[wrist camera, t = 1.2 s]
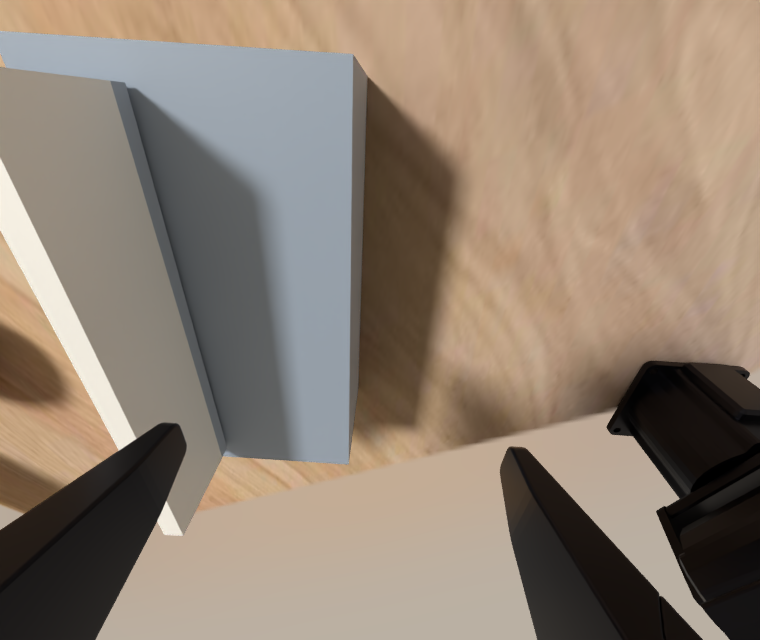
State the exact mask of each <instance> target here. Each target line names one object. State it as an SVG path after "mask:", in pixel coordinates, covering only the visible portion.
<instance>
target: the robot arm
mask: <svg viewBox="0 0 760 640" xmlns="http://www.w3.org/2000/svg"><path fill="white" fill-rule="evenodd" d="M749 375H750V373H749V372H748V371H747V370H746V369H744V368H743V367H738V366H728V365H717V364H702V363H677V362H662V361H649V362H647V363H645V364H644V365H643V366H642V367H641V369H640V371H639V373H638V374H637V376H636V378H635V379H634V381H633V383H632V384H631V386H630V388H629V389H628V391H627V393H626V394H625V396H624V398H623V399H622V401H621V403H620V405H619V406H618V408H617V410H616V411H615V413H614V415H613V416H612V418H611V420H610V421H609V423H608V425H607V429H608V431H609V432H610V433H611V434H613V435H624V436H633V437H634V438H635V439H636V441H637V442H638V443H639V445H640V446H641V447H642V449H643V450H644V451H645V453H646V454H647V455H648V457H649V458H650V460H651V461H652V462H653V463H654V465H655V466H656V467H657V469H658V470H659V471H660V473H661V474H662V475H663V477H664V478H665V480H666V481H667V482H668V484H669V485H670V486H671V488H672V489H673V490H674V491H675V493H676V494H677V496H678V497H679V498H680V499H679V500H677V501H676V502H674V503H673V504H671V505H669V506H667V507H665V506H664V507H662V508H660V509H659V510H657V511H656V512H657V515H658V517H659V520H660V522H661V524H662V527H663V529H664V531H665V534H666V536H667V538H668V541H669V543H670V545H671V548H672V550H673V552H674V555H675V557H676V559H677V562H678V564H679V566H680V569H681V571H682V573H683V576H684V578H685V580H686V582H687V584H688V587H689V588H690V591H691V593H692V595H693V598H694V599H695V600H696V602H697V603H698V604H699V605H700V606H701V607H702V608H703V609H704V611H705V612H706V613H707V614H708V616H709V617H710V618H711V619H712V620H713V622H714V623H715V624H716V625H717V626H718V627H719V628H720V629H721V630H722V631H723V632H724V633H725V634H726V635H727V637H728V638H729V639H730V640H760V389H759V388H758V387H756V386H755V385H754V384H752V383H751V382H750V381H748V380H747V378H748V377H749ZM186 450H187V443H186V440H185V438H184V435H183V432H182V429H181V427H180V425H179V424H177V423H167V422H163V423H160V424H158V425H156V426H155V427H153V428H152V429H150V430H149V431H147V432H146V433H144V434H143V435H141V436H140V437H138V438H137V439H135V440H134V441H132V442H131V443H129V444H128V445H126V446H125V447H123V448H122V449H120V450H119V451H117V452H116V453H114V454H113V455H111V456H110V457H109V458H107V459H106V460H104V461H103V462H101V463H100V464H98V465H97V466H95V467H94V468H92V469H91V470H89V471H88V472H86V473H85V474H83V475H82V476H80V477H79V478H77V479H76V480H74V481H73V482H71V483H70V484H68V485H67V486H65V487H64V488H62V489H61V490H59V491H58V492H56V493H55V494H53V495H52V496H50V497H49V498H47V499H46V500H44V501H43V502H41V503H40V504H38V505H37V506H35V507H34V508H32V509H31V510H29V511H28V512H26V513H25V514H24V515H22V516H21V517H19V518H18V519H16V520H15V521H13V522H12V523H10V524H9V525H7V526H6V527H4V528H3V529H1V530H0V640H95V639H96V637H97V635H98V633H99V631H100V630H101V628H102V626H103V624H104V622H105V620H106V618H107V616H108V614H109V612H110V610H111V609H112V607H113V605H114V603H115V601H116V599H117V597H118V595H119V593H120V591H121V589H122V588H123V586H124V584H125V582H126V580H127V578H128V576H129V574H130V572H131V570H132V568H133V566H134V565H135V563H136V561H137V559H138V557H139V555H140V553H141V551H142V549H143V547H144V545H145V543H146V542H147V540H148V538H149V536H150V534H151V532H152V530H153V528H154V526H155V524H156V522H157V520H158V518H159V516H160V514H161V512H162V510H163V508H164V505H165V503H166V501H167V498H168V496H169V493H170V491H171V488H172V486H173V483H174V481H175V478H176V476H177V473H178V471H179V468H180V466H181V464H182V461H183V459H184V456H185V453H186ZM500 476H501V483H502V489H503V495H504V501H505V507H506V514H507V520H508V526H509V532H510V537H511V542H512V545H513V550H514V554H515V557H516V561H517V565H518V568H519V572H520V576H521V580H522V583H523V587H524V591H525V595H526V599H527V603H528V606H529V610H530V614H531V618H532V621H533V625H534V629H535V633H536V636H537V640H703V639H702V638H701V637H700V636H699V635H698V634H697V633H696V632H695V631H694V630H693V629H692V628H691V627H690V626H689V625H688V623H687V622H686V621H685V620H684V619H683V618H682V617H681V616H680V615H679V614H678V613H677V612H676V611H675V609H674V608H673V607H672V606H671V605H670V604H669V603H668V602H667V601H666V600H665V599H664V598H663V597H662V596H659V593H658V591H657V590H656V589H655V588H654V587H653V586H652V585H651V584H650V582H649V581H648V580H647V579H646V578H645V577H644V576H643V575H642V574H641V573H640V572H639V571H638V569H637V568H636V567H635V566H634V565H633V564H632V563H631V562H630V561H629V560H628V558H626V557H625V555H624V554H623V553H622V552H621V551H620V550H619V549H618V548H617V547H616V546H615V544H614V543H613V542H612V541H611V540H610V539H609V538H608V537H607V536H606V535H605V534H604V532H603V531H602V530H601V529H600V528H599V527H598V526H597V525H596V524H595V523H594V521H592V519H591V518H590V517H589V516H588V515H587V514H586V513H585V512H584V511H583V510H582V508H580V506H579V505H578V504H577V503H576V502H575V501H574V500H573V499H572V498H571V496H570V495H569V494H568V493H567V492H566V491H565V490H564V489H563V488H562V487H561V486H560V484H559V483H558V482H557V481H556V480H555V479H554V478H553V477H552V476H551V475H550V474H549V473H548V471H547V470H546V469H545V468H544V467H543V466H542V465H541V464H540V463H539V462H538V461H537V459H536V458H535V457H534V456H533V455H532V454H531V453H530V452H529V451H528V450H527V449H526V448H523V447H509V448H508V449H507V451H506V454H505V456H504V459H503V461H502V464H501V467H500Z"/></svg>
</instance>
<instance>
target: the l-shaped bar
mask: <svg viewBox="0 0 760 640" xmlns="http://www.w3.org/2000/svg"><path fill="white" fill-rule="evenodd" d="M0 231H1V232H2V234H3V236H4V238H5V240H6V242H7V244H8V245H9V247H10V249H11V251H12V253H13V255H14V257H15V258H16V260H17V262H18V264H19V266H20V268H21V270H22V271H23V273H24V275H25V277H26V279H27V281H28V283H29V284H30V286H31V288H32V290H33V292H34V294H35V296H36V297H37V299H38V301H39V303H40V305H41V307H42V309H43V310H44V312H45V314H46V316H47V318H48V320H49V322H50V323H51V325H52V327H53V329H54V331H55V333H56V335H57V336H58V338H59V340H60V342H61V344H62V346H63V348H64V349H65V351H66V353H67V355H68V357H69V359H70V361H71V362H72V364H73V366H74V368H75V370H76V372H77V373H78V375H79V377H80V379H81V381H82V383H83V385H84V386H85V388H86V390H87V392H88V394H89V396H90V398H91V399H92V401H93V403H94V405H95V407H96V409H97V411H98V412H99V414H100V416H101V418H102V420H103V422H104V424H105V425H106V427H107V429H108V431H109V433H110V435H111V437H112V438H113V440H114V442H115V444H116V446H117V448H118V450H120V449H122V448H123V447H125V446H126V445H128V444H129V443H131V442H132V441H134V440H135V439H137V438H138V437H140V436H141V435H143V434H144V433H146V432H147V431H149V430H150V429H152V428H153V427H155V426H156V425H158V424H160V423H163V422H167V423H177V424H179V425H180V427H181V429H182V432H183V435H184V438H185V440H186V443H187V450H186V453H185V456H184V459H183V461H182V464H181V466H180V468H179V471H178V473H177V476H176V478H175V481H174V483H173V486H172V488H171V491H170V493H169V496H168V498H167V501H166V503H165V505H164V508H163V510H162V512H161V514H160V516H159V518H158V520H157V522H158V524H159V525H160V527H161V529H162V531H163V533H164V535H178V536H183V535H184V533H185V531H186V529H187V527H188V525H189V523H190V521H191V519H192V517H193V515H194V513H195V511H196V509H197V507H198V505H199V503H200V501H201V499H202V497H203V495H204V493H205V491H206V489H207V487H208V485H209V483H210V481H211V479H212V477H213V475H214V473H215V471H216V469H217V467H218V465H219V463H220V461H221V459H222V457H223V455H224V453H225V451H226V449H227V446H226V442H225V439H224V435H223V432H222V428H221V424H220V421H219V417H218V414H217V410H216V407H215V403H214V399H213V396H212V392H211V389H210V385H209V381H208V378H207V374H206V371H205V367H204V363H203V360H202V356H201V353H200V349H199V346H198V342H197V338H196V335H195V331H194V328H193V324H192V320H191V317H190V313H189V310H188V306H187V302H186V299H185V295H184V292H183V288H182V285H181V281H180V277H179V274H178V270H177V267H176V263H175V259H174V256H173V252H172V249H171V245H170V241H169V238H168V234H167V231H166V227H165V224H164V220H163V216H162V213H161V209H160V206H159V202H158V198H157V195H156V191H155V188H154V184H153V180H152V177H151V173H150V170H149V166H148V163H147V159H146V155H145V152H144V148H143V145H142V141H141V137H140V134H139V130H138V127H137V123H136V119H135V116H134V112H133V109H132V105H131V102H130V98H129V94H128V91H127V87H126V84H125V82H117V81H109V80H101V79H92V78H84V77H76V76H68V75H60V74H52V73H44V72H36V71H28V70H20V69H12V68H4V67H0Z"/></svg>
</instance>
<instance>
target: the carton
mask: <svg viewBox="0 0 760 640" xmlns="http://www.w3.org/2000/svg"><path fill="white" fill-rule="evenodd" d="M0 54H1V56H2V59H3V61H4V63H5V66H6V68H12V69H20V70H28V71H36V72H44V73H52V74H60V75H68V76H76V77H84V78H92V79H101V80H109V81H117V82H125V84H126V87H127V91H128V94H129V98H130V102H131V105H132V109H133V112H134V116H135V119H136V123H137V127H138V130H139V134H140V137H141V141H142V145H143V148H144V152H145V155H146V159H147V163H148V166H149V170H150V173H151V177H152V180H153V184H154V188H155V191H156V195H157V198H158V202H159V206H160V209H161V213H162V216H163V220H164V224H165V227H166V231H167V234H168V238H169V241H170V245H171V249H172V252H173V256H174V259H175V263H176V267H177V270H178V274H179V277H180V281H181V285H182V288H183V292H184V295H185V299H186V302H187V306H188V310H189V313H190V317H191V320H192V324H193V328H194V331H195V335H196V338H197V342H198V346H199V349H200V353H201V356H202V360H203V363H204V367H205V371H206V374H207V378H208V381H209V385H210V389H211V392H212V396H213V399H214V403H215V407H216V410H217V414H218V417H219V421H220V424H221V428H222V432H223V435H224V439H225V442H226V446H227V449H226V451H225V453H224V455H223V456H228V457H243V458H258V459H273V460H289V461H304V462H319V463H334V464H349V457H350V450H351V442H352V434H353V426H354V418H355V411H356V403H357V395H358V382H359V348H360V314H361V280H362V246H363V212H364V178H365V144H366V110H367V75H366V73H365V72H364V70H363V69H362V67H361V65H360V64H359V62H358V61H357V59H356V58H355V56H354V55H353V54H343V53H327V52H312V51H297V50H282V49H266V48H251V47H236V46H220V45H205V44H190V43H174V42H159V41H144V40H128V39H113V38H98V37H83V36H67V35H52V34H37V33H21V32H6V31H0Z"/></svg>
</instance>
